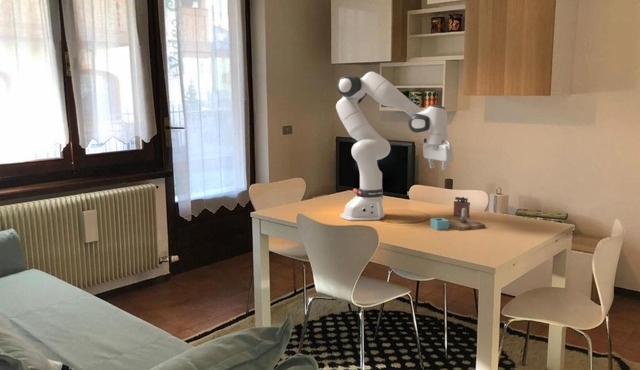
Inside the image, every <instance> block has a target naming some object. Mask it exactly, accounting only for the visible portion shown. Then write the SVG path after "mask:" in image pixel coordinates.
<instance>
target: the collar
mask: <svg viewBox="0 0 640 370" xmlns="http://www.w3.org/2000/svg"><path fill="white" fill-rule="evenodd" d="M449 220H450V219H446V218H443V217H434V218H433V217H432V218H430V222H429V223H430V224H429V225H430V228H431V229H434V230H436V231H441V230H449V227H450V226H449Z"/></svg>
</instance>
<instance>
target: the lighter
mask: <svg viewBox="0 0 640 370" xmlns="http://www.w3.org/2000/svg"><path fill="white" fill-rule="evenodd" d="M454 200H455V201H453V215H452V216H453V218H459V219H461V216H462V209H463V208H466V209H467V218H469V219H470V205H471V202H468V201H469V198H468V197H464V196H462V197H461V196H455V197H454Z"/></svg>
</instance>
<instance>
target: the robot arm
mask: <svg viewBox="0 0 640 370" xmlns="http://www.w3.org/2000/svg"><path fill="white" fill-rule="evenodd" d="M336 87H337V88H336V89H337V91H338V93H339V94H340V95H341V96H342V97H341V98H340V99H339V100H338V101H337V103H335V110H336V112H337V115H338V117H339V119H340V121H341V122H342V125H343V126H344V128H345V130H346V131H347V133H348V136H350V137H351V138H352V139H354V140H355V141H357V142H355V143H353V145H352V146H351V150H350V151H351V156H352V158H353V159H354V161H356V163H357V167H358V172H359V188H358V189H357V188H353V189H352V192H353V193H355V194H356V195H355V196H354V197H352V199H351V200H349V201H348V202H347V203H345V206H344V211H343V212H341V213H340V214H339V216H340V218H342V219H344V220H346V221H378V220H381V219H382V218H385V211H384V205H383V199H384V197H383V196H384V191H383V190H384V188H383V172H382V171H381V170H380V168H379V165H378V161H379V160H382V159H384V158H386V157H387V156H388V155H389V154H390V152H391V149H392V148H391V145H390V142H389V141H388V140H387V139H385V138H384V137H382V136H381V135H380V134H379V133H378V132H377V131H376V130H375V129H374V128H373V126H371V124H370V123H369V121H368V120H367V118H366V117H365V115H364V114H363V112H362V111H361V108H360V107H359V105H358V104H360V103H361V102H362V101H363V100H364V99H365V98H366V96H367V95H369V96H370V97H371V98H373V100H375V102H377V103H378V104H380V105H382V106H385V107H390V108H394V109H395V108H396V109H398V110H401V111H403V112H404V113H406V114H407V115H408V116H409V118H408V124H407V125H408V128H409V129H410V131H411V132H413V133H415V134H422V133H423V134H424V133H427V134H428V135H427V136H426V137H424V138H422V143H423V145H422V154H423V158H424V159H427V161H428V163H429V168H430V169H435V168H436V166H435V165H436V164H434V161H440V162H441V164H442V165H441V166H440V171H446V170H447V165H448V162H453V159H454V156H453V155H454V154H453V153H454V152H453V147H452V144H451V143H450V141H449V140H448V129H447V128H448V113H447V109H446V108H445V106H442V105H437V104H436V105H435V104H432V105H429V106H428V107H427V108H425V109H424V108H422V107H421V106H420V105H418V104H417V103H415V102H413V100H411V99H410V98H409V97H408V96H406V95H404V93H402V91H400V90H399V89H398V88H397V87H396V86H394V85H393V84H392V83H391V82H390V81H389V80H388V79H387V78H385V77H384V76H382V75H380V74H379V73H377V72H375V71H368V72H367V73H365V74H364V75H363V76H362V77H359V76H357V75H344V76H342V77H340V78H339V79H338V81H337V83H336Z"/></svg>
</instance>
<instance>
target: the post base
mask: <svg viewBox="0 0 640 370" xmlns="http://www.w3.org/2000/svg"><path fill="white" fill-rule="evenodd" d="M448 220H449V227H450V228H452V229H454V230H457V231H468V230H477V229H478V230H479V229H485V228H486V224H485V223H481V222H479V221H477V220H475V219H471V218H470V217H469V218H467V209H466V208H463V209H462V216H461V218H458V219H457V218H455V219H453V218H452V219H448Z"/></svg>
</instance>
